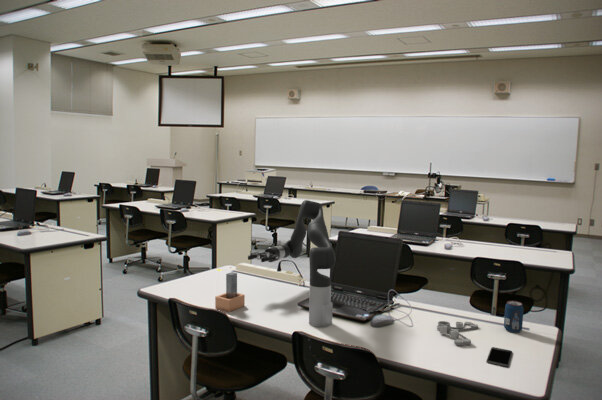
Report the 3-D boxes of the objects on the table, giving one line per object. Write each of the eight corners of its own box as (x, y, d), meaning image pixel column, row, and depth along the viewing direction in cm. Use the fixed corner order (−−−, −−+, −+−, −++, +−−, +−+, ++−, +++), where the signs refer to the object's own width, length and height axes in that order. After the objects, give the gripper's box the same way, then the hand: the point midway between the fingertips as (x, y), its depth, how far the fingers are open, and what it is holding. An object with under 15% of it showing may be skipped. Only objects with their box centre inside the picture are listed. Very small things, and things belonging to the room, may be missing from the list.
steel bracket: (237, 304, 206) (238, 273, 204) (229, 307, 201) (229, 276, 199) (231, 302, 208) (231, 271, 207) (222, 305, 203) (222, 274, 202)
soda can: (512, 326, 186) (514, 299, 185) (525, 332, 180) (527, 304, 179) (499, 328, 184) (501, 301, 183) (513, 334, 178) (515, 306, 176)
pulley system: (429, 342, 171) (469, 349, 163) (429, 331, 171) (469, 337, 163) (443, 323, 194) (479, 328, 187) (443, 312, 194) (479, 317, 187)
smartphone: (485, 364, 152) (485, 361, 152) (491, 348, 165) (491, 346, 165) (508, 369, 149) (508, 367, 149) (512, 353, 162) (512, 350, 161)
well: (244, 305, 207) (244, 294, 206) (229, 312, 198) (229, 300, 197) (230, 302, 212) (230, 291, 211) (215, 307, 203) (215, 296, 202)
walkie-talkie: (372, 315, 197) (401, 307, 209) (373, 306, 197) (401, 298, 209) (358, 310, 204) (387, 302, 216) (359, 301, 204) (387, 293, 216)
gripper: (264, 245, 231) (244, 249, 217) (285, 248, 223) (266, 253, 209) (264, 259, 231) (244, 264, 218) (285, 262, 223) (266, 268, 210)
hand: (255, 258), depth 213 cm, fingers open, 8 cm apart
